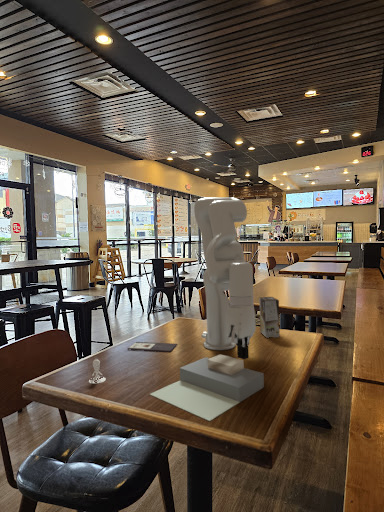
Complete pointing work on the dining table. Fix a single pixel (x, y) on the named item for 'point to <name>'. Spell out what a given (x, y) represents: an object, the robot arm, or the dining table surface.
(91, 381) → the toy figurine
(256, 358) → the dining table surface
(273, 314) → the coffee box
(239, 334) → the robot arm
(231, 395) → the slate deck
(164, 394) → the sage mat
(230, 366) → the cream tile
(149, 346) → the chocolate bar
